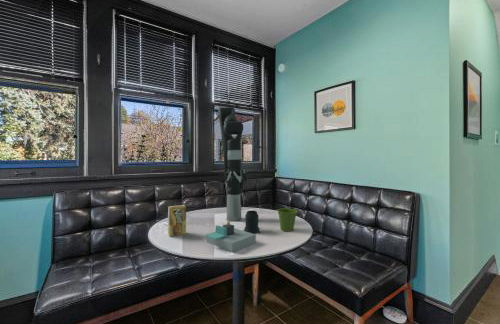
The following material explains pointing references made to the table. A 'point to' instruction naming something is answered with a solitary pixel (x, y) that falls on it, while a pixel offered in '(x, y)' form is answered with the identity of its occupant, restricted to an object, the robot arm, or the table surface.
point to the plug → (229, 228)
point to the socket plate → (234, 240)
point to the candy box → (176, 220)
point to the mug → (251, 222)
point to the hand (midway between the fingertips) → (235, 188)
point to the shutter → (218, 233)
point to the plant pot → (287, 219)
